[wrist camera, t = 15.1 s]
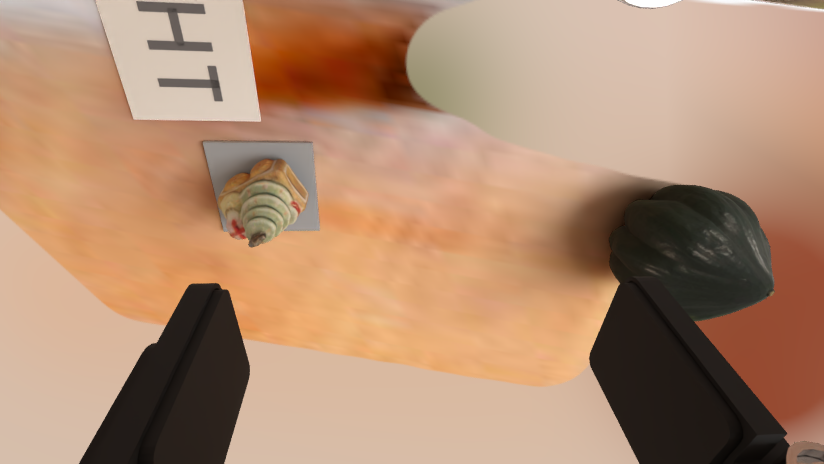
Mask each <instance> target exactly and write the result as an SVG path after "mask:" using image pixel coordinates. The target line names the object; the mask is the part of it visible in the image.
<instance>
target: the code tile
mask: <svg viewBox="0 0 824 464" xmlns="http://www.w3.org/2000/svg"><path fill="white" fill-rule="evenodd" d="M95 1H96V4H97V8H98V11H99V14H100V17H101V20H102V23H103V26H104V29H105V32H106V35H107V38H108V42H109V45H110V48H111V51H112V54H113V57H114V60H115V63H116V66H117V69H118V72H119V75H120V79H121V82H122V85H123V88H124V91H125V94H126V97H127V100H128V103H129V106H130V109H131V113H132V116H133V119H134V120H194V121H257V122H261V116H260V109H259V103H258V96H257V90H256V83H255V76H254V70H253V63H252V57H251V50H250V43H249V37H248V30H247V24H246V17H245V11H244V4H243V0H95Z"/></svg>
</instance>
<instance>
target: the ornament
mask: <svg viewBox="0 0 824 464" xmlns="http://www.w3.org/2000/svg"><path fill="white" fill-rule="evenodd" d="M308 197H309V193H308V191H307V190H306V188H305V187H304V185H303V184H302V183H301V182H300V180H299V179H298V178H297V176H296V175H295V173H294V172H293V170H292V169H291V168H290V166H289V165H288V164H287V163H286V161H285V160H283V159H277V160H271V159H264V160H261V161H260V162H258V163H257V164H256V165H255V166H254V167H253V168H252V170H251V171H250V174H248V173H245V172H244V173H239V174H237V175H235V176H234V177H232V178H231V179H229V180H228V181H227V183H226V184H225V187H224V188H223V190H222V192H221V193H220V195H219V198H218V207H219V208H220V209H221V210H222V212H223V214H224V216H225V218H226V219H227V224H226V228H227V230H228V232H229V233H230V235H231V236H232V237H233V238H235V239H238V240H239V239H246V238H248V240H249V244H248V245H249V247H255V246H258V245H259V244H263V243H266V242H269V241H271V240H272V239H273V238H274V237H276V236H278V235H279V234H280V232H282V231H284V230H285V229H286V228H287V226H288V225H291V224H293V223H294V222H295V221H296V220H297V217H298V216H299V214H300V213H301V212H303V211H304V210H305V208H306V205H307V201H308Z"/></svg>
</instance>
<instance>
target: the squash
mask: <svg viewBox="0 0 824 464" xmlns="http://www.w3.org/2000/svg"><path fill="white" fill-rule="evenodd" d="M624 221H625V226H621V227H619V228H617V229H615V230H614V231H613V232H612V234H611V235H610V237H609V242H610V247H611V249H612V253H611V255H610V261H609V263H610V268H611V270H612V272H613V274H614V275H615V277H616V278H617V280H618V281H619V282H620V284H621V283H624V282H625V280H626V279H627V278H628V277H640V276H653V277H656V278H657V279H658V280H659V281H660V282H661V283H662V284H663V285H664V286H665V288H666V289H667V290H668V291H669V292H670V294H671V295H672V296H673V297H674V298H675V300H676V301H677V302H678V303H679V304H680V306H681V307H682V308H683V309H684V310H685V312H686V313H687V314H688V315H689V316H690V318H691V319H692V320H693V321H702V320H707V319H712V318H715V317H720V316H723V315H727V314H730V313H733V312H736V311H739V310H741V309H744V308H746V307H749V306H752V305H754V304H756V303H758V302H760V301H762V300H764V299H766V298H767V297H768V296H772V295H773V294H774V292H775V291H774V289H773V288H774V278H773V274H772V268H771V253H770V245H769V242H768V239H767V238H766V236H765V234H764V232H763V230H762V229H761V228H760V225H759V221H758V219H757V217H756V215H755V213H754V212H753V211H752V209H751V208H750V207H749V206H748V205H747V204H746V203H745V202H744V201H742V200H741V199H739V198H738V197H736V196H734V195H732V194H729V193H725V192H722V191H717V190H712V189H709V188H706V187H702V186H696V185H673V186H668V187H664V188H662V189H661V190H659V191H657V192H656V193H655V194H654V195H653V197H652V198H651V200H636V201H634V202H632V203H631V204H629V205H628V207H627V208H626V210H625V214H624Z"/></svg>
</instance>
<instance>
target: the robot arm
mask: <svg viewBox="0 0 824 464" xmlns="http://www.w3.org/2000/svg"><path fill="white" fill-rule="evenodd" d="M618 1H620V2H623V3H625V4H627V5H629V6H634V7H638V8H651V9H653V8H660V7H666V6H669V5H672V4H674V3H677V2H680V1H682V0H618ZM753 1H761V2H768V3H776V4H784V5H792V6H799V7H809V8H817V9H824V0H753ZM589 360H590V366H591V368H592V370H593V372H594V374H595V376H596V378H597V380H598V382H599V384H600V386H601V388H602V390H603V392H604V394H605V396H606V398H607V400H608V402H609V404H610V406H611V408H612V410H613V412H614V414H615V416H616V418H617V420H618V422H619V424H620V426H621V428H622V430H623V432H624V434H625V436H626V438H627V440H628V442H629V444H630V446H631V448H632V450H633V452H634V454H635V455H636V457H637V460H638V462H639V464H824V445H821V444H818V443H813V442H807V441H802V442H796V443H794V444H793V445H791V446H790V445H789V444H788V443H787V441H786V440H785V439H784V437H785V436H786V434H787V432H786V431H785V430H784V429H783V428H782V426H781V425H780V424H779V423H778V422H777V420H776V419H775V418H774V417H773V416H772V414H771V413H770V412H769V411H768V410H767V409H766V407H765V406H764V405H763V404H762V403H761V401H760V400H759V399H758V398H757V397H756V395H755V394H754V393H753V392H752V391H751V389H750V388H749V387H748V386H747V385H746V383H745V382H744V381H743V380H742V379H741V377H740V376H739V375H738V374H737V373H736V371H735V370H734V369H733V368H732V367H731V366H730V364H729V363H728V362H727V361H726V359H725V358H724V357H723V356H722V355H721V354H720V352H719V351H718V350H717V349H716V347H715V346H714V345H713V344H712V343H711V342H710V340H709V339H708V338H707V337H706V336H705V334H704V333H703V332H702V331H701V330H700V328H699V327H698V326H697V325H696V324H695V322H694V321H693V320H692V319H691V318H690V316H689V315H688V314H687V313H686V312H685V310H684V309H683V308H682V307H681V306H680V304H679V303H678V302H677V301H676V300H675V298H674V297H673V296H672V295H671V294H670V292H669V291H668V290H667V289H666V288H665V286H664V285H663V284H662V283H661V282H660V281H659V280H658V279H657V278H656V277H653V276H640V277H628V278H627V279H626V280H625V282H624V283H621V284H620V285H619V286H618V288H617V291H616V293H615V296H614V298H613V300H612V303H611V305H610V307H609V310H608V312H607V314H606V317H605V319H604V322H603V324H602V326H601V329H600V331H599V333H598V336H597V338H596V341H595V343H594V345H593V348H592V350H591V352H590V357H589ZM249 375H250V365H249V361H248V357H247V354H246V350H245V347H244V343H243V340H242V336H241V333H240V329H239V325H238V322H237V318H236V315H235V311H234V308H233V304H232V300H231V297H230V294H229V291H228V290H222V289H221V286H220V285H219V284H217V283H209V284H191V285H189V286H188V288H187V289H186V291H185V293H184V294H183V296H182V298H181V300H180V302H179V304H178V305H177V307H176V309H175V311H174V313H173V314H172V316H171V318H170V320H169V322H168V324H167V325H166V327H165V329H164V331H163V333H162V335H161V336H160V338H159V340H158V342H157V343H154V344H151V345H149V346H148V347H147V348H146V349H145V350H144V352H143V353H142V354H141V356H140V358H139V360H138V361H137V363H136V365H135V367H134V368H133V370H132V372H131V374H130V375H129V377H128V379H127V381H126V382H125V384H124V386H123V387H122V390H121V391H120V393H119V394H118V396H117V398H116V400H115V401H114V403H113V405H112V407H111V408H110V410H109V412H108V414H107V416H106V417H105V419H104V421H103V422H102V424H101V426H100V428H99V429H98V431H97V433H96V435H95V436H94V438H93V440H92V442H91V443H90V445H89V447H88V449H87V450H86V452H85V454H84V456H83V457H82V459H81V461H80V463H79V464H224V462H225V459H226V455H227V452H228V448H229V445H230V442H231V438H232V435H233V431H234V428H235V424H236V421H237V418H238V414H239V411H240V407H241V404H242V401H243V397H244V394H245V390H246V387H247V384H248V380H249Z"/></svg>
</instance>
